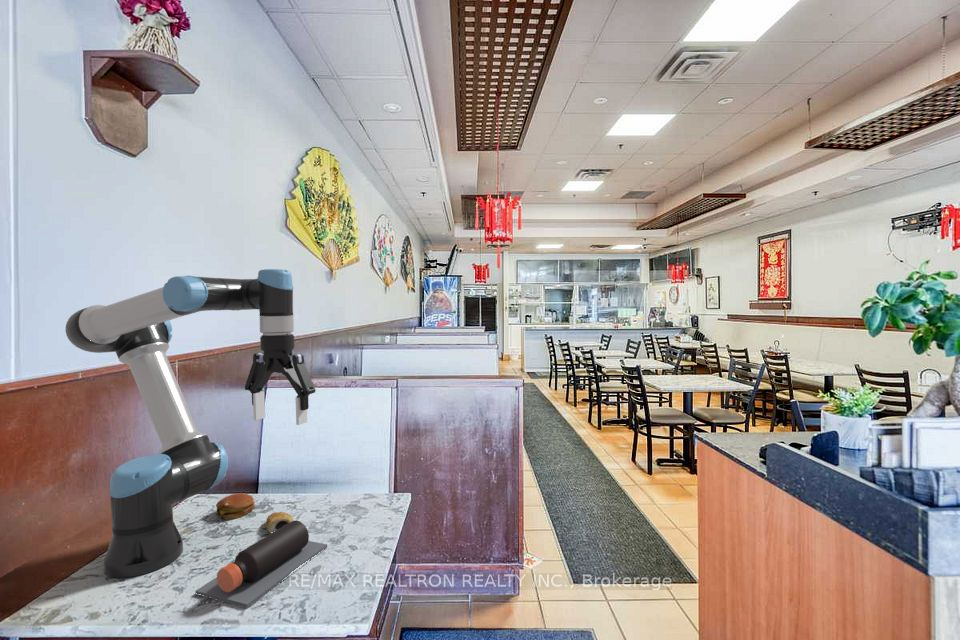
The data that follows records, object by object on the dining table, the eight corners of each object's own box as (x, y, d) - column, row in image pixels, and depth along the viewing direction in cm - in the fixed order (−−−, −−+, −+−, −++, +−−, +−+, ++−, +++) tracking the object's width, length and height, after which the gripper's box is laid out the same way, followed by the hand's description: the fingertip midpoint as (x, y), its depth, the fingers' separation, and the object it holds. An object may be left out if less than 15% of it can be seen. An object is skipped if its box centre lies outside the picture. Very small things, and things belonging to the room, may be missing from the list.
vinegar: (289, 545, 114) (214, 593, 96) (287, 518, 114) (212, 561, 95) (310, 549, 111) (238, 600, 93) (308, 521, 111) (235, 567, 93)
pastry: (262, 523, 128) (262, 509, 128) (288, 516, 132) (288, 503, 132) (268, 536, 120) (268, 522, 120) (296, 529, 124) (295, 515, 124)
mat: (195, 594, 96) (195, 590, 96) (282, 538, 119) (281, 535, 119) (247, 608, 91) (247, 604, 91) (327, 547, 114) (327, 544, 114)
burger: (257, 503, 141) (256, 488, 140) (251, 517, 132) (250, 501, 132) (220, 508, 138) (220, 493, 138) (212, 522, 129) (211, 506, 129)
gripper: (329, 333, 111) (331, 421, 111) (252, 332, 120) (255, 413, 121) (306, 335, 104) (308, 429, 104) (226, 334, 113) (229, 420, 114)
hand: (280, 421), depth 113 cm, fingers open, 13 cm apart
